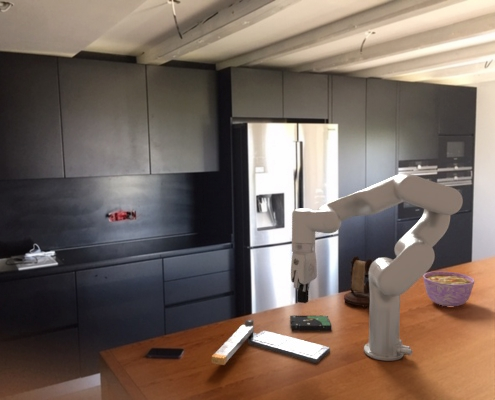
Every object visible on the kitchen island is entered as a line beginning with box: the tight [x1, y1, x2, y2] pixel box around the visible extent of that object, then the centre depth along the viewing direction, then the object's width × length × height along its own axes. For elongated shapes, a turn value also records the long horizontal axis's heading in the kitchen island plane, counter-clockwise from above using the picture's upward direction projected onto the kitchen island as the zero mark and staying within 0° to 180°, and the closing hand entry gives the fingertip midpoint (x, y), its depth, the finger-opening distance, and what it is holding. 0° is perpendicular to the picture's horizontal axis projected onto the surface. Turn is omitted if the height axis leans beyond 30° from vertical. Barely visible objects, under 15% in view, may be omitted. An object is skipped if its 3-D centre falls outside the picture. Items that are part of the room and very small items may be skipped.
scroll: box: [343, 255, 373, 309], centre depth 201 cm, size 15×15×20 cm
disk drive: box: [289, 315, 332, 332], centre depth 178 cm, size 10×3×15 cm
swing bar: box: [211, 319, 255, 366], centre depth 155 cm, size 30×4×5 cm, turn 160°
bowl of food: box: [422, 271, 475, 307], centre depth 198 cm, size 20×20×12 cm
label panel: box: [245, 330, 331, 364], centre depth 160 cm, size 32×10×2 cm, turn 55°
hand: (302, 301), depth 154 cm, fingers closed
